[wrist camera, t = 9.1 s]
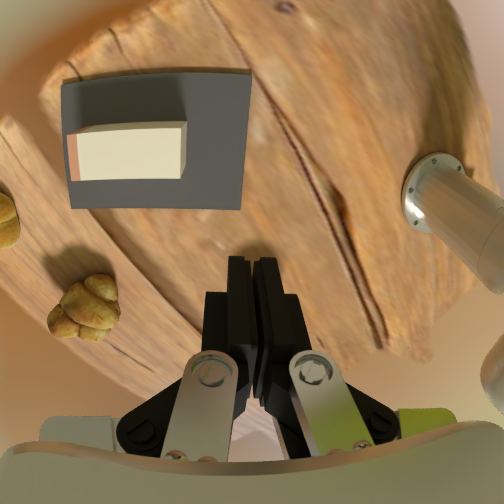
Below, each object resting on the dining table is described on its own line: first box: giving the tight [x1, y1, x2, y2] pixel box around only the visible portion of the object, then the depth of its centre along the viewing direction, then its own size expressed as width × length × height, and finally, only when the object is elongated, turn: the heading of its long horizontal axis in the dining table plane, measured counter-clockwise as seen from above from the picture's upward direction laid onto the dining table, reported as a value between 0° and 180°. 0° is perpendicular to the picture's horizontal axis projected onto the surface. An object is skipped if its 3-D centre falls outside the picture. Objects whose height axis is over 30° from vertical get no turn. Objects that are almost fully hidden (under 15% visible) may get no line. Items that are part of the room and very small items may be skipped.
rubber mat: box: [61, 73, 252, 210], centre depth 30 cm, size 22×16×1 cm
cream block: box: [67, 121, 187, 181], centre depth 28 cm, size 5×5×12 cm
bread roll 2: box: [47, 274, 120, 342], centre depth 38 cm, size 13×10×8 cm
